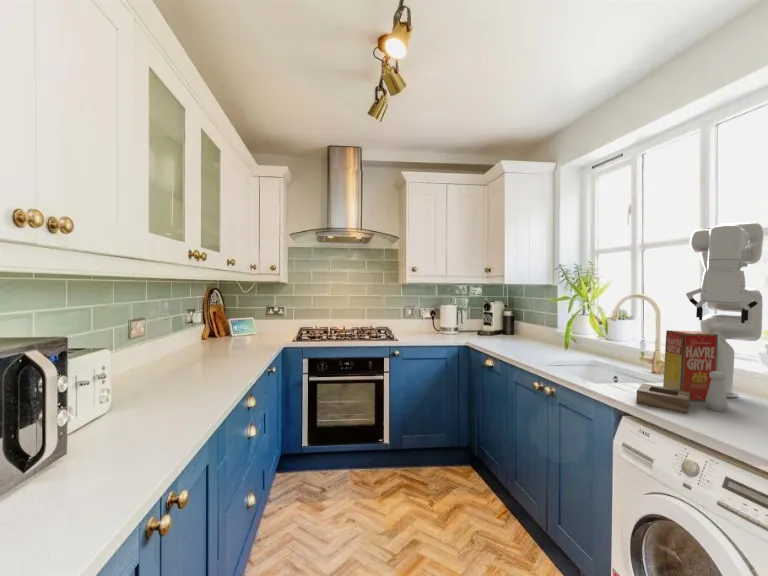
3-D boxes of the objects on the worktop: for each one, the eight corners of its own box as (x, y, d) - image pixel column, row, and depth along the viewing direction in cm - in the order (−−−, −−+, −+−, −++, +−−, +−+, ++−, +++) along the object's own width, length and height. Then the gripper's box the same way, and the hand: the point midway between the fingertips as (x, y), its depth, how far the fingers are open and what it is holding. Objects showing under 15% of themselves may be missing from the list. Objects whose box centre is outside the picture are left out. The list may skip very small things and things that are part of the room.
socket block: (642, 396, 141) (642, 383, 141) (689, 405, 131) (690, 391, 131) (636, 404, 130) (636, 390, 130) (687, 415, 121) (688, 399, 121)
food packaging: (680, 400, 136) (683, 332, 135) (661, 393, 145) (664, 329, 145) (716, 401, 136) (719, 334, 136) (694, 394, 145) (697, 330, 145)
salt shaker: (731, 413, 123) (733, 374, 123) (712, 411, 124) (714, 373, 124) (719, 407, 129) (721, 370, 129) (700, 406, 130) (702, 369, 130)
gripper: (762, 266, 111) (759, 323, 111) (688, 266, 122) (685, 318, 123) (765, 265, 105) (762, 325, 105) (686, 265, 117) (684, 319, 117)
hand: (721, 321), depth 114 cm, fingers open, 9 cm apart
